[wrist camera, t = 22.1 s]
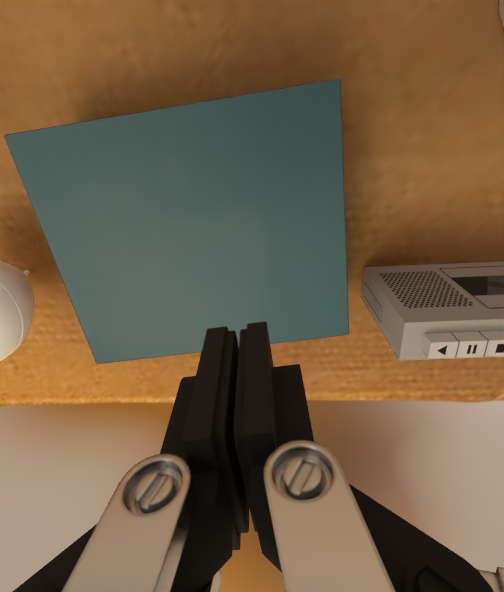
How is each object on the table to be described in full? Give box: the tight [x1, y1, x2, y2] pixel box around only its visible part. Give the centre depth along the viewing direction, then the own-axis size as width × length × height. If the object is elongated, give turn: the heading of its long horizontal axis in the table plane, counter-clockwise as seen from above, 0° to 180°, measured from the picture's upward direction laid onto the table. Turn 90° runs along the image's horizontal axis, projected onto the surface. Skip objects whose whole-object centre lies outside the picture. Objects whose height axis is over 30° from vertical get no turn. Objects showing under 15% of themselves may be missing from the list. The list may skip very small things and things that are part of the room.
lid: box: [4, 79, 349, 364], centre depth 22 cm, size 18×15×1 cm
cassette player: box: [361, 261, 504, 360], centre depth 25 cm, size 16×3×10 cm, turn 93°
